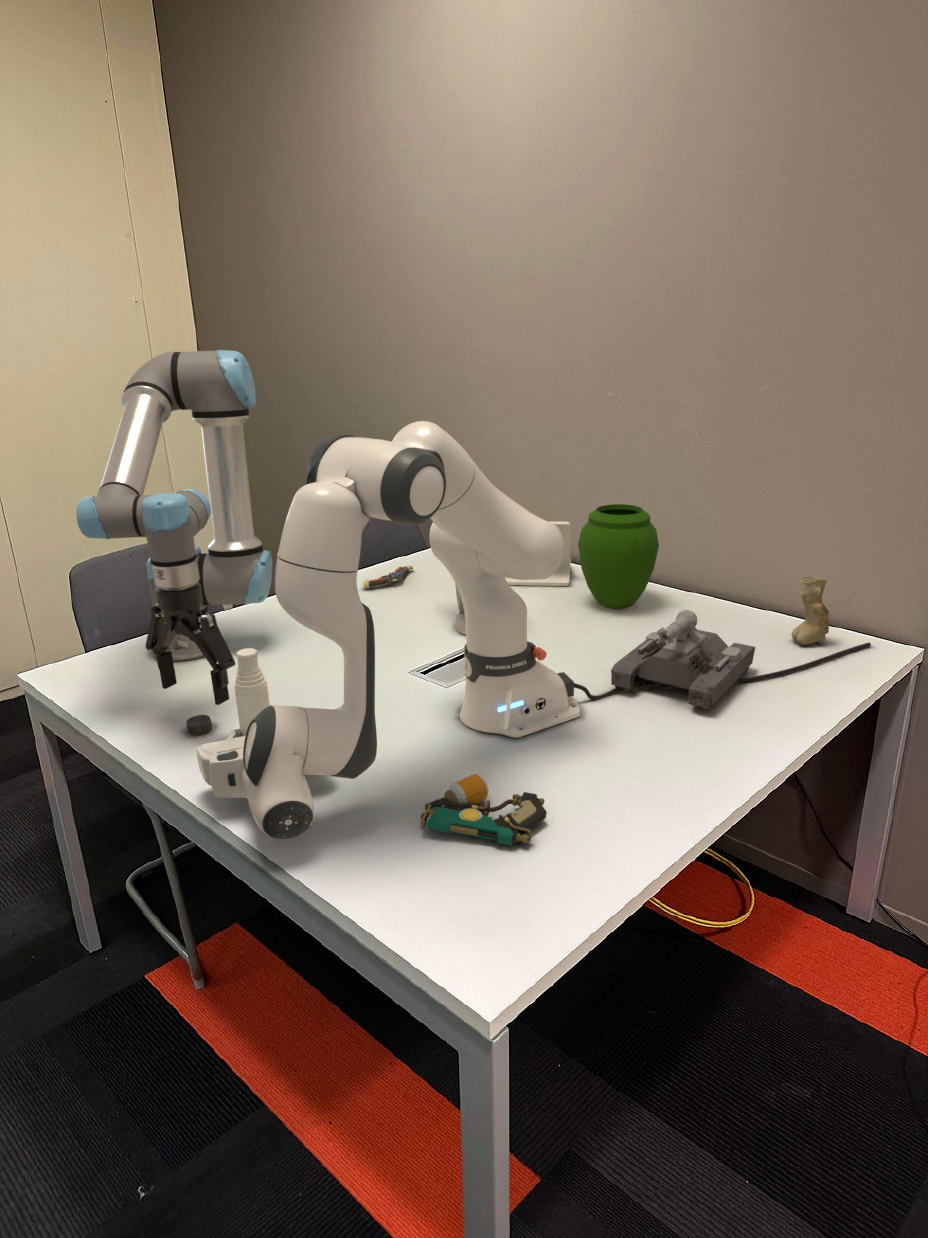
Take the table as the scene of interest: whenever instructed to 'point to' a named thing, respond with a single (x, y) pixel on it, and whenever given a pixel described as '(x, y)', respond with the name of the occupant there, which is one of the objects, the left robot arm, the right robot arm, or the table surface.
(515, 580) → the tablet stand
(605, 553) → the vase
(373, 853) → the table surface
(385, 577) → the toy gun
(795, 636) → the sculpture
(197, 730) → the cap
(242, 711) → the bottle
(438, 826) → the spray gun
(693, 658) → the toy
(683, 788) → the table surface
